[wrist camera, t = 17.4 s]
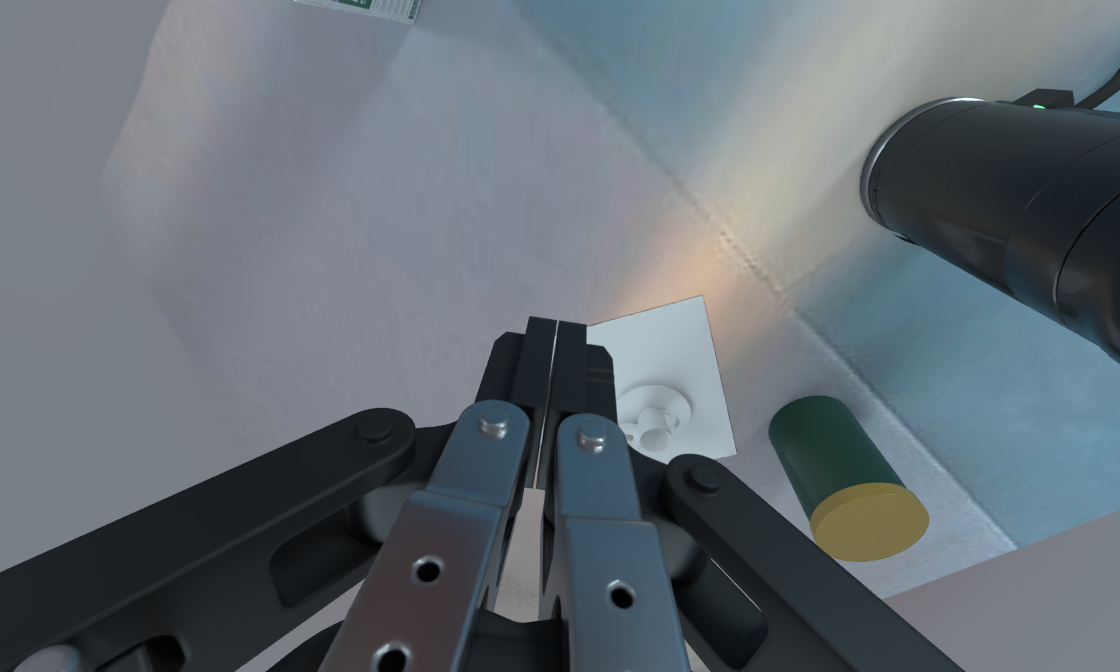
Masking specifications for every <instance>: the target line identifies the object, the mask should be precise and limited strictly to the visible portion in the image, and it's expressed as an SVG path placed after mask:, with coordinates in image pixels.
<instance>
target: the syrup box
mask: <svg viewBox="0 0 1120 672" xmlns="http://www.w3.org/2000/svg"><path fill="white" fill-rule="evenodd" d="M295 1H297V2H300V3H304V4H308V5H313V6H318V7H323V8H329V9H334V10H340V11H346V12H352V13H358V14H363V15H369V16H374V17H380V18H385V19H389V20H394V21H398V22H401V23H404V24H408V25H413V24H414V23H415V19H416V16H417V13H418V10H419V6H420V3H421V0H295Z"/></svg>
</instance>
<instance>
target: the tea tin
mask: <svg viewBox="0 0 1120 672" xmlns="http://www.w3.org/2000/svg"><path fill="white" fill-rule="evenodd" d="M769 438H770V440H771V443H772V445H773V447H774V449H775V451H776V453H777V455H778V457H779V459H780V461H781V464H782V466H783V468H784V470H785V472H786V474H787V476H788V478H789V480H790V483H791V485H792V487H793V489H794V491H795V493H796V495H797V497H798V499H799V502H800V504H801V506H802V508H803V510H804V512H805V514H806V516H807V518H808V520H809V523H810V530H811V533H812V535H813V537H814V539H815V541H816V543H817V545H818V546H819V547H820V548H821V549H822V550H823V551H824V552H826V553H827V554H828V555H829V556H831V557H833V558H836V559H839V560H844V561H852V562H865V561H874V560H879V559H883V558H887V557H890V556H893V555H895V554H898V553H900V552H902V551H904V550H906V549H908V548H909V547H911V546H912V545H913V544H915V543H916V542H917V541H918V540H919V539H920V538H921V537H922V536H923V535H924V533H925V531H926V530H927V527H928V524H929V515H928V512H927V510H926V509H925V507H924V506H923V504H922V503H921V502H920V500H919V499H918V498H917V496H916V495H915V494H914V493H913V492H911V491H910V490H908V489H907V488H906V486H905V485H904V483H903V482H902V481H901V479H900V478H899V477H898V475H897V474H896V473H895V471H894V470H893V469H892V467H891V466H890V465H889V463H888V462H887V461H886V459H885V458H884V456H883V455H882V454H881V452H880V451H879V450H878V448H877V447H876V446H875V444H874V443H873V442H872V440H871V439H870V438H869V436H868V435H867V433H866V432H865V431H864V429H863V428H862V427H861V425H860V424H859V423H858V421H857V420H856V419H855V417H854V416H853V415H852V413H851V412H850V410H849V409H848V408H847V407H846V406H845V405H844V404H843V403H842V402H840V401H839V400H837V399H834V398H831V397H826V396H811V397H806V398H802V399H799V400H796V401H794V402H792V403H790V404H788V405H786V406H785V407H783V408H782V409H781V410H780V411H779V412H778V413H777V414H776V415H775V416H774V417H773V419H772V421H771V423H770V426H769Z"/></svg>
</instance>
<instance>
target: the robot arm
mask: <svg viewBox="0 0 1120 672" xmlns="http://www.w3.org/2000/svg"><path fill="white" fill-rule="evenodd" d="M1119 90H1120V69H1119V70H1118V71H1117V73H1116V74H1115V75H1114V76H1113V78H1112V79H1111V80H1110V81H1109V82H1107V83H1106V84H1105V85H1104V86H1102V87H1101V88H1100V89H1098V90H1097V91H1096V92H1094V93H1093V94H1091V95H1090V96H1089V97H1087V98H1086V99H1084V100H1083V101H1081V102H1080V103H1078V104H1077V105H1075V106H1074V97H1073V91H1069V90H1054V89H1039V88H1038V89H1036V90H1034V91H1032V92H1030V93H1029V94H1027V95H1025V96H1023V97H1021V98H1019V99H1017V100H1016V101H1014V102H1011V101H1001V100H1000V101H996V102H987V101H984V100H980V99H974V98H965V97H949V98H942V99H938V100H934V101H931V102H928V103H926V104H923V105H921V106H919V107H917V108H915V109H913V110H912V111H910V112H908V113H907V114H905V115H904V116H903V117H901V118H900V119H899V120H897V121H896V122H895V123H894V124H893V125H892V126H890V127H889V128H888V129H887V130H886V131H885V133H884V134H883V135H882V136H881V137H880V138H879V140H878V141H877V142H876V144H875V145H874V147H873V148H872V150H871V152H870V154H869V155H868V158H867V160H866V162H865V165H864V167H863V171H862V175H861V180H860V195H861V200H862V203H863V206H864V208H865V210H866V212H867V213H868V215H869V216H870V217H871V218H872V219H873V220H874V221H876V222H877V223H878V224H880V225H882V226H884V227H885V228H887V229H889V230H891V231H894V232H897V233H899V234H901V235H903V236H904V237H906V238H908V239H906V238H903V237H900V236H897V235H895V236H897V237H899V238H900V239H902V240H904V241H907V242H910V243H912V244H915V245H918V246H921V247H923V248H925V249H927V250H928V251H930V252H932V253H934V254H936V255H937V256H939V257H941V258H943V259H944V260H946V261H948V262H950V263H952V264H953V265H955V266H957V267H959V268H960V269H962V270H964V271H966V272H967V273H969V274H971V275H973V276H975V277H976V278H978V279H980V280H982V281H983V282H985V283H987V284H989V285H990V286H992V287H994V288H996V289H998V290H999V291H1001V292H1003V293H1005V294H1006V295H1008V296H1010V297H1012V298H1013V299H1015V300H1017V301H1019V302H1021V303H1022V304H1024V305H1026V306H1028V307H1030V308H1032V309H1033V310H1035V311H1037V312H1039V313H1041V314H1042V315H1044V316H1046V317H1048V318H1049V319H1051V320H1053V321H1055V322H1056V323H1058V324H1060V325H1062V326H1064V327H1065V328H1067V329H1069V330H1071V331H1072V332H1074V333H1076V334H1078V335H1080V336H1082V337H1083V338H1085V339H1087V340H1089V341H1090V342H1092V343H1094V344H1096V345H1098V346H1099V347H1100V348H1101V349H1102V350H1103V351H1104V352H1105V353H1106V354H1108V355H1109V356H1110V357H1111V358H1112V359H1113V360H1115V361H1116V362H1117V363H1119V364H1120V112H1110V111H1100V110H1092V109H1093V108H1095V107H1096V106H1098V105H1099V104H1101V103H1102V102H1104V101H1105V100H1107V99H1108V98H1109V97H1111V96H1112V95H1114V94H1115V93H1116V92H1117V91H1119ZM556 324H557V320H552V319H546V318H539V317H532V316H530V317H529V321H528V325H527V329H526V334H519V333H513V332H506V333H504V334H503V335H502V336H501V337H499V338H498V339H497V340H496V341H495V342H494V345H493V348H492V351H491V356H490V357H489V360H488V363H487V366H486V369H485V372H484V375H483V378H482V381H481V384H480V387H479V390H478V393H477V396H476V399H475V402H474V404H472V405H470V406H469V407H467V408H466V409H465V410H464V411H463V412H462V414H461V415H460V417H459V419H458V420H457V421H455V422H453V423H450V424H446V425H442V426H435V427H425V428H415V424H414V422H413V420H412V419H411V418H410V417H409V416H408V415H406V414H405V413H403V412H401V411H398V410H395V409H390V408H373V409H368V410H364V411H361V412H358V413H355V414H353V415H351V416H349V417H347V418H344V419H342V420H340V421H338V422H335V423H333V424H331V425H329V426H326V427H324V428H322V429H320V430H317V431H315V432H313V433H311V434H309V435H306V436H304V437H302V438H300V439H297V440H295V441H293V442H291V443H288V444H286V445H284V446H282V447H279V448H277V449H275V450H273V451H270V452H268V453H266V454H264V455H262V456H259V457H257V458H255V459H253V460H250V461H248V462H246V463H244V464H241V465H239V466H237V467H235V468H232V469H230V470H228V471H226V472H224V473H221V474H219V475H217V476H215V477H212V478H210V479H208V480H206V481H203V482H201V483H199V484H197V485H194V486H192V487H190V488H188V489H185V490H183V491H181V492H179V493H177V494H175V495H172V496H170V497H168V498H166V499H163V500H161V501H159V502H156V503H154V504H152V505H150V506H147V507H145V508H143V509H141V510H139V511H136V512H134V513H132V514H130V515H128V516H125V517H123V518H121V519H118V520H116V521H114V522H112V523H110V524H107V525H105V526H103V527H101V528H98V529H96V530H94V531H92V532H89V533H87V534H85V535H83V536H80V537H78V538H76V539H74V540H72V541H69V542H67V543H65V544H63V545H60V546H58V547H56V548H54V549H51V550H49V551H47V552H45V553H42V554H40V555H38V556H36V557H33V558H31V559H29V560H27V561H24V562H22V563H20V564H18V565H15V566H13V567H11V568H9V569H7V570H4V571H2V572H0V672H235V671H236V670H237V669H239V668H240V667H241V666H243V665H244V664H246V663H247V662H249V661H250V660H251V659H253V658H254V657H255V656H257V655H258V654H260V653H261V652H262V651H264V650H265V649H267V648H268V647H270V646H271V645H272V644H274V643H275V642H276V641H278V640H279V639H281V638H282V637H283V636H285V635H286V634H288V633H289V632H290V631H292V630H293V629H295V628H296V627H297V626H299V625H300V624H302V623H303V622H304V621H306V620H307V619H309V618H310V617H311V616H313V615H314V614H316V613H317V612H318V611H320V610H321V609H323V608H324V607H325V606H327V605H328V604H330V603H331V602H332V601H334V600H335V599H337V598H338V597H339V596H341V595H342V594H344V593H345V592H346V591H348V590H349V589H351V588H352V587H353V586H355V585H356V584H358V583H359V582H360V581H362V580H363V579H365V580H364V582H363V584H362V586H361V588H360V590H359V592H358V594H357V596H356V598H355V600H354V602H353V604H352V606H351V607H350V609H349V611H348V614H347V615H346V617H345V619H344V620H342V621H340V622H338V623H336V624H334V625H332V626H330V627H328V628H326V629H324V630H322V631H321V632H319V633H317V634H316V635H314V636H313V637H311V638H310V639H308V640H306V641H305V642H303V643H302V644H301V645H300V646H298V647H297V648H295V649H294V650H293V651H292V652H290V653H289V654H288V655H286V656H285V657H284V658H282V659H281V660H280V661H279V662H277V663H276V664H275V665H274V666H272V667H271V668H270V669H269V670H267V671H266V672H693V671H691V667H690V663H689V659H688V654H687V650H686V646H685V641H684V639H685V640H686V641H687V643H688V644H689V645H690V646H691V648H692V649H693V650H694V651H695V653H696V654H697V655H698V656H699V658H700V659H701V660H702V661H703V663H704V664H705V665H706V666H707V668H708V669H709V670H710V671H711V672H965V671H964V670H963V669H962V668H960V667H959V666H958V665H957V664H956V663H955V662H953V661H952V660H951V659H950V658H949V657H948V656H946V655H945V654H944V653H943V652H942V651H941V650H939V649H938V648H937V647H936V646H935V645H933V644H932V643H931V642H930V641H929V640H927V639H926V638H925V637H924V636H923V635H922V634H921V633H919V632H918V631H917V630H916V629H915V628H913V627H912V626H911V625H910V624H909V623H908V622H907V621H905V620H904V619H903V618H902V617H901V616H899V615H898V614H897V613H896V612H895V611H894V610H892V609H891V608H890V607H889V606H888V605H887V604H885V603H884V602H883V601H882V600H881V599H880V598H878V597H877V596H876V595H875V594H874V593H872V592H871V591H870V590H869V589H868V588H867V587H865V586H864V585H863V584H862V583H861V582H860V581H858V580H857V579H856V578H855V577H854V576H853V575H851V574H850V573H849V572H848V571H847V570H845V569H844V568H843V567H842V566H841V565H840V564H838V563H837V562H836V561H835V560H834V559H833V558H831V557H830V556H829V555H828V554H827V553H826V552H824V551H823V550H822V549H821V548H820V547H819V546H817V545H816V544H815V543H814V542H813V541H811V540H810V539H809V538H808V537H807V536H806V535H804V534H803V533H802V532H801V531H800V530H799V529H797V528H796V527H795V526H794V525H793V524H792V523H790V522H789V521H788V520H787V519H786V518H784V517H783V516H782V515H781V514H780V513H779V512H777V511H776V510H775V509H774V508H773V507H772V506H770V505H769V504H768V503H767V502H766V501H765V500H763V499H762V498H761V497H760V496H759V495H757V494H756V493H755V492H754V491H753V490H752V489H750V488H749V487H748V486H747V485H746V484H745V483H743V482H742V481H741V480H740V479H739V478H738V477H736V476H735V475H734V474H733V473H732V472H730V471H729V470H728V469H727V468H726V467H724V466H723V465H722V464H720V463H719V462H717V461H715V460H713V459H711V458H709V457H706V456H703V455H699V454H681V455H678V456H676V457H674V458H673V459H671V461H670V462H669V463H668V465H667V464H665V463H662V462H660V461H657V460H655V459H652V458H650V457H648V456H645V455H643V454H641V453H640V452H638V451H636V450H635V449H634V448H632V447H631V446H630V445H629V444H628V443H627V439H626V436H625V434H624V432H623V431H622V429H621V428H620V427H619V426H618V418H617V406H616V393H615V385H614V383H615V380H614V367H613V358H612V357H611V355H610V354H609V353H608V351H607V350H606V348H605V347H604V346H599V345H593V344H587V325H586V324H579V323H573V322H566V321H559V325H558V331H557V337H556V343H555V349H554V355H553V348H554V340H555V332H556ZM552 356H553V362H552ZM551 364H552V368H551ZM550 372H551V374H550ZM549 380H550V381H549ZM544 417H545V419H544ZM543 423H544V427H543ZM542 429H543V435H542ZM541 436H542V443H541V451H540V459H539V467H538V475H537V483H536V489H542V490H545V499H544V507H543V512H542V518H541V532H540V587H539V615H538V621H534V622H527V623H520V622H515V621H512V620H510V619H507V618H505V617H503V616H500V615H498V614H496V613H494V608H495V603H496V599H497V595H498V591H499V587H500V583H501V579H502V575H503V571H504V567H505V563H506V559H507V555H508V551H509V547H510V543H511V539H512V535H513V531H514V527H515V523H516V517H517V512H518V511H519V509H520V507H521V504H522V499H523V492H524V487H526V488H533V484H534V478H535V472H536V466H537V460H538V454H539V448H540V442H541ZM711 558H712V559H713V560H714V561H715V562H716V563H717V564H718V565H719V566H720V567H721V568H722V569H723V570H724V571H725V573H726V574H727V575H728V576H729V577H730V578H731V579H732V580H733V581H734V582H735V583H736V584H737V585H738V586H739V587H740V588H741V589H742V590H743V591H744V592H745V593H746V594H747V595H748V596H749V597H750V598H751V600H752V601H753V602H754V603H755V604H756V605H757V606H758V607H759V608H760V610H761V611H762V612H761V611H760V610H759V609H758V608H757V607H756V606H755V605H754V604H753V603H752V602H751V601H750V600H749V599H748V598H747V596H746V595H745V594H744V593H743V592H742V591H741V590H740V589H739V588H738V587H737V586H736V585H735V584H734V583H733V582H732V581H731V580H730V579H729V578H728V577H727V576H726V575H725V574H724V572H723V571H722V570H721V569H720V568H719V567H718V566H717V565H716V564H715V563H714V562H713V561H712V560H711Z"/></svg>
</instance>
